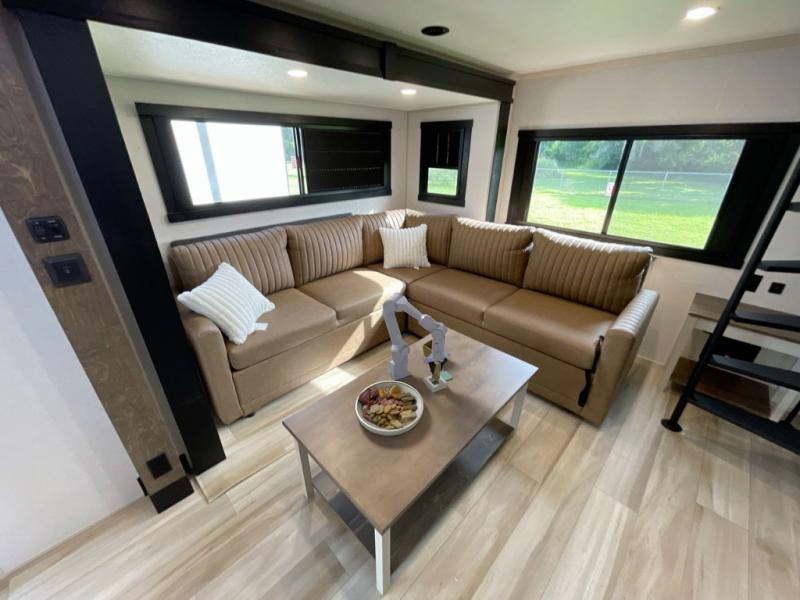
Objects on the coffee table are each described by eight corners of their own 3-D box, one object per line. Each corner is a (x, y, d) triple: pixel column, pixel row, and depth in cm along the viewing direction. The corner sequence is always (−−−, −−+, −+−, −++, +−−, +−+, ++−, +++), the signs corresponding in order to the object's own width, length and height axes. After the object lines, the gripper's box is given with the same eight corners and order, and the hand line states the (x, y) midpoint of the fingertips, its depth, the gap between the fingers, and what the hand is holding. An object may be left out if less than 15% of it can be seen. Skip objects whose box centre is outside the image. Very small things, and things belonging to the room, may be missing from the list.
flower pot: (443, 358, 173) (444, 345, 169) (433, 365, 168) (434, 351, 164) (431, 351, 179) (432, 338, 175) (421, 357, 173) (422, 344, 169)
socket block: (432, 392, 149) (433, 387, 147) (424, 382, 155) (424, 378, 154) (446, 387, 152) (446, 382, 151) (437, 377, 158) (437, 373, 157)
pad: (443, 381, 156) (443, 381, 156) (436, 374, 160) (436, 374, 160) (452, 378, 158) (453, 377, 158) (446, 371, 163) (446, 370, 163)
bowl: (428, 395, 148) (429, 382, 144) (414, 447, 122) (415, 433, 118) (370, 383, 155) (369, 370, 151) (344, 430, 129) (343, 416, 125)
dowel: (434, 381, 149) (435, 367, 145) (430, 376, 152) (431, 363, 149) (441, 378, 151) (442, 365, 147) (436, 373, 154) (437, 360, 150)
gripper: (429, 357, 138) (428, 380, 144) (455, 348, 144) (453, 371, 150) (421, 348, 143) (420, 372, 149) (446, 340, 149) (444, 363, 155)
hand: (436, 371), depth 150 cm, fingers closed on dowel, 4 cm apart
